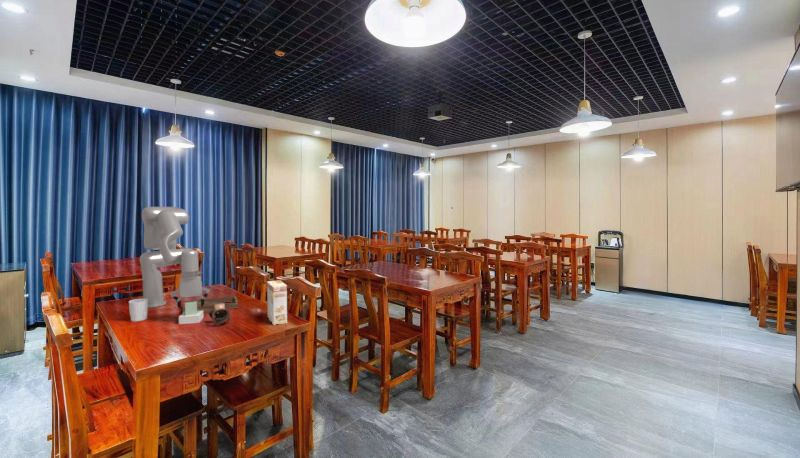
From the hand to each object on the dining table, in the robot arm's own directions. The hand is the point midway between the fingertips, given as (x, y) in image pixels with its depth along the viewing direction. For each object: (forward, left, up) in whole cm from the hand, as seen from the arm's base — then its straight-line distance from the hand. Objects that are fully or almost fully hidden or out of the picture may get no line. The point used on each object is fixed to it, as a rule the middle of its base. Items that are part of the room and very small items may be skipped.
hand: (191, 307), depth 183 cm
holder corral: (-21, +9, -7) cm, 24 cm away
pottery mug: (+11, +13, -7) cm, 18 cm away
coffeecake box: (+19, +39, -7) cm, 44 cm away
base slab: (0, 0, -7) cm, 7 cm away
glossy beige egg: (-7, +13, -7) cm, 16 cm away
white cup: (-14, -24, -7) cm, 29 cm away
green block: (0, 0, -3) cm, 3 cm away
